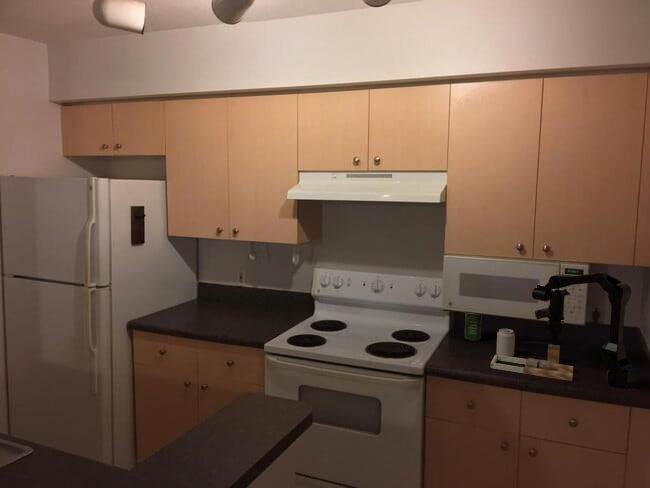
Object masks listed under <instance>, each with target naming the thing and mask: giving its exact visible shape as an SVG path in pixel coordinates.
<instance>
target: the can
mask: <svg viewBox="0 0 650 488" xmlns="http://www.w3.org/2000/svg"><path fill="white" fill-rule="evenodd" d="M515 341H516V334H515V333H514V330H513V329H509V328H499V329H498V331H497V334H496V353H495V354H496V355H502V356H509V357H514V356H515Z"/></svg>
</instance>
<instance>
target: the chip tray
mask: <svg viewBox="0 0 650 488" xmlns="http://www.w3.org/2000/svg"><path fill="white" fill-rule="evenodd" d="M527 359H528V358H521V357H514V356H510V357H509V356H502V355H498V354H497V353H495V354H494V357H493V358H492V360H491V362H490V369H495V370H502V371H508V372H514V373H520V374H524V373H523V372H524V367H523V366H516V365H509V364H503V363H499V362H498V363H497V361H500V362H501V361H502V362H507V363H515V364H521V365H526V360H527Z"/></svg>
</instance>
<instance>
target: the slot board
mask: <svg viewBox="0 0 650 488" xmlns="http://www.w3.org/2000/svg"><path fill="white" fill-rule="evenodd" d="M526 359H527V360H528V359H529V358H526ZM527 360H526V364H525V366H524V367H523V368H524V372H523V373H522V374H525V375H526V374H527V375H533V376H538V377H545V378H551V379H557V380H564V381H570V382H572V381H573V377H574V376H573V375H574V374H573V372H574V366H573V365H567V364H561V363H559V364H556V363H550V370H544V369H538V368H531V367H527Z"/></svg>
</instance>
